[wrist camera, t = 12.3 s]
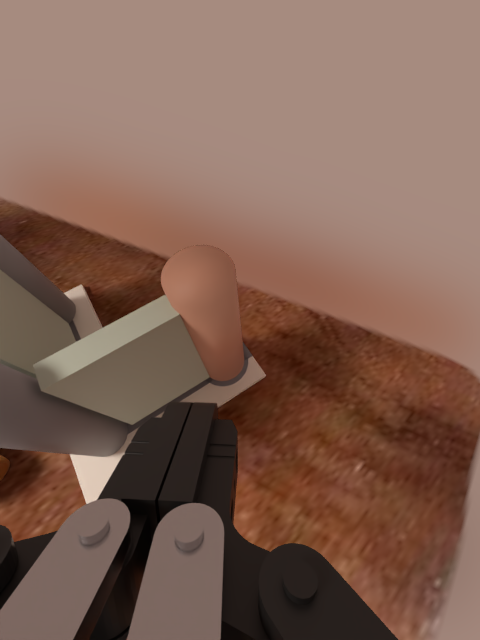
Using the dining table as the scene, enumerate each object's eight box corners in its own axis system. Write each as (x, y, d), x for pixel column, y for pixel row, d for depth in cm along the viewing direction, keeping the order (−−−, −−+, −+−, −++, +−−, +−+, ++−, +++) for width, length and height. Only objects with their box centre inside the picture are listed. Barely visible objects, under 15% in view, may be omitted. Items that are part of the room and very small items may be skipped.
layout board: (25, 315, 25) (22, 313, 24) (171, 242, 27) (170, 239, 27) (146, 669, 15) (143, 675, 14) (352, 500, 18) (355, 501, 17)
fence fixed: (36, 312, 24) (-118, 200, 14) (72, 294, 25) (-52, 175, 15) (92, 467, 19) (-92, 463, 9) (136, 439, 19) (10, 406, 9)
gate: (138, 437, 19) (28, 406, 10) (121, 398, 20) (8, 336, 11) (252, 366, 21) (250, 282, 12) (230, 333, 22) (211, 234, 13)
